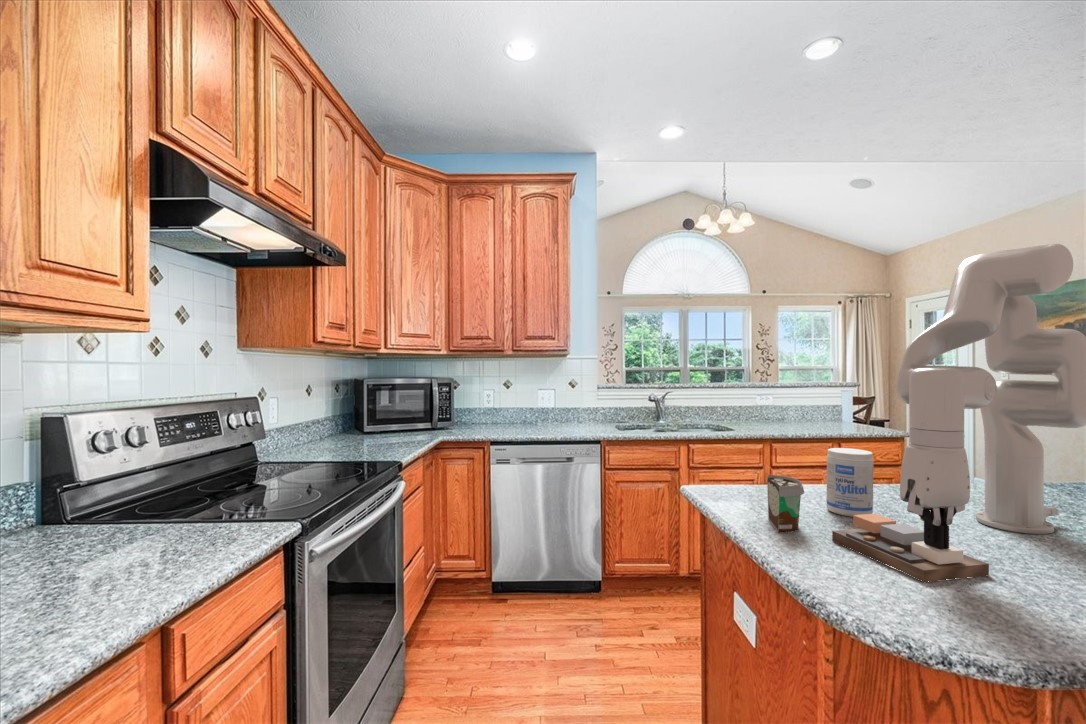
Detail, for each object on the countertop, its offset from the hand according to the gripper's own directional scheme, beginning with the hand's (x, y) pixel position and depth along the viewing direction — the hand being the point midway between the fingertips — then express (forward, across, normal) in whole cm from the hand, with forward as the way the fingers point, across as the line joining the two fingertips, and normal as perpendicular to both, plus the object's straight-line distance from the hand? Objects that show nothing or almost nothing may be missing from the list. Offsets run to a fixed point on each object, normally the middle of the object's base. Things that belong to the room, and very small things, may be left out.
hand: (936, 546), depth 88 cm
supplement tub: (+4, -12, -33) cm, 35 cm away
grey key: (+1, 0, -7) cm, 7 cm away
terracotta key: (+1, 0, -13) cm, 13 cm away
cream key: (+2, 0, 0) cm, 2 cm away
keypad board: (+4, 0, -7) cm, 8 cm away
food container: (+4, +9, -27) cm, 28 cm away
